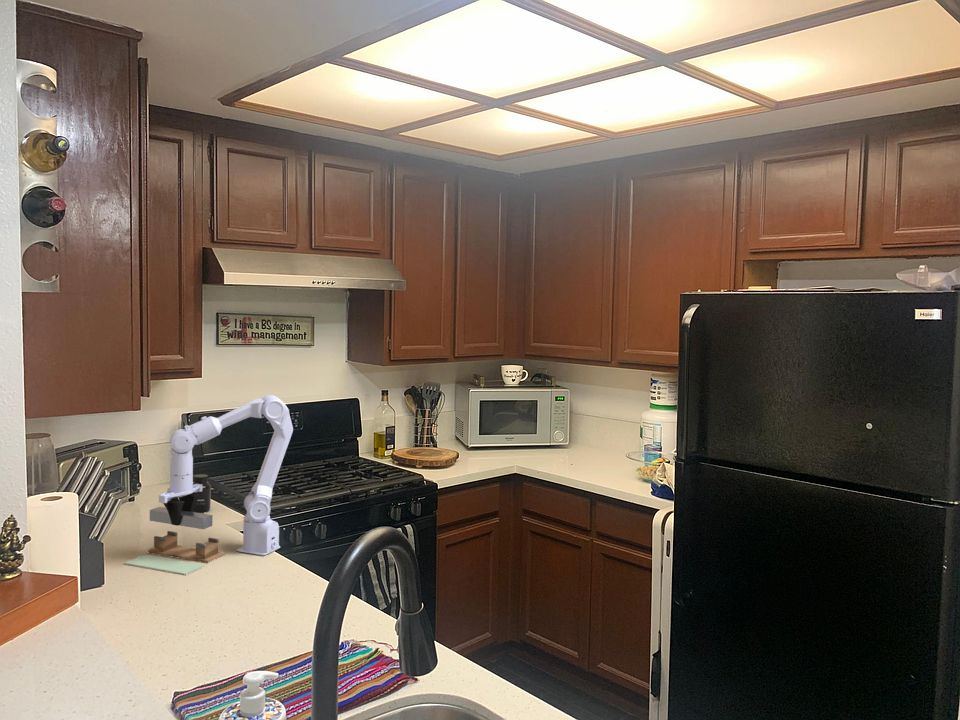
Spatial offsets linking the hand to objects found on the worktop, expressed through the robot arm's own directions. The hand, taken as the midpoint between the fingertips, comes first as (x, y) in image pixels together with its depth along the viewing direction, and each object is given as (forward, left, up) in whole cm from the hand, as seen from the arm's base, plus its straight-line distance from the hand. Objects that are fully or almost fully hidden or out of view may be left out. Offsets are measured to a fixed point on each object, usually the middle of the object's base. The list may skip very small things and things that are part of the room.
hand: (180, 522), depth 199 cm
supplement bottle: (+25, -38, -10) cm, 47 cm away
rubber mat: (-1, +7, -10) cm, 12 cm away
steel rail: (0, 0, 0) cm, 0 cm away
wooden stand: (0, -2, -10) cm, 10 cm away
